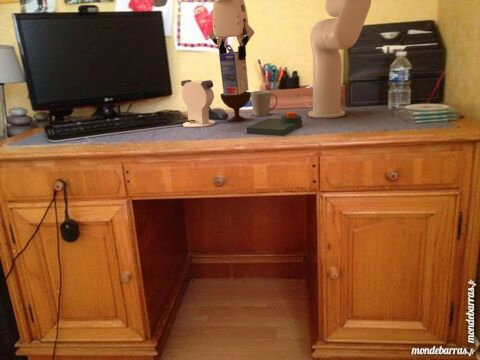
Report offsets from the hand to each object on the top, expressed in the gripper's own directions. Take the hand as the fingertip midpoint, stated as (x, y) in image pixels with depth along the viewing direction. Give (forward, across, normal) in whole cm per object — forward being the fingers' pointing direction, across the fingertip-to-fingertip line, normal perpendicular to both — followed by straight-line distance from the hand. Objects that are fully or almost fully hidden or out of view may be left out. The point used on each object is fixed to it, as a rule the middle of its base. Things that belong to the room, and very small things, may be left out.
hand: (233, 59), depth 118 cm
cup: (+22, +3, -24) cm, 33 cm away
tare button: (+18, -16, -6) cm, 25 cm away
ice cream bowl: (+22, +8, -12) cm, 26 cm away
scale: (+21, -12, -1) cm, 25 cm away
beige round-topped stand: (+21, +18, -3) cm, 28 cm away
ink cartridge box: (+10, 0, 0) cm, 10 cm away
